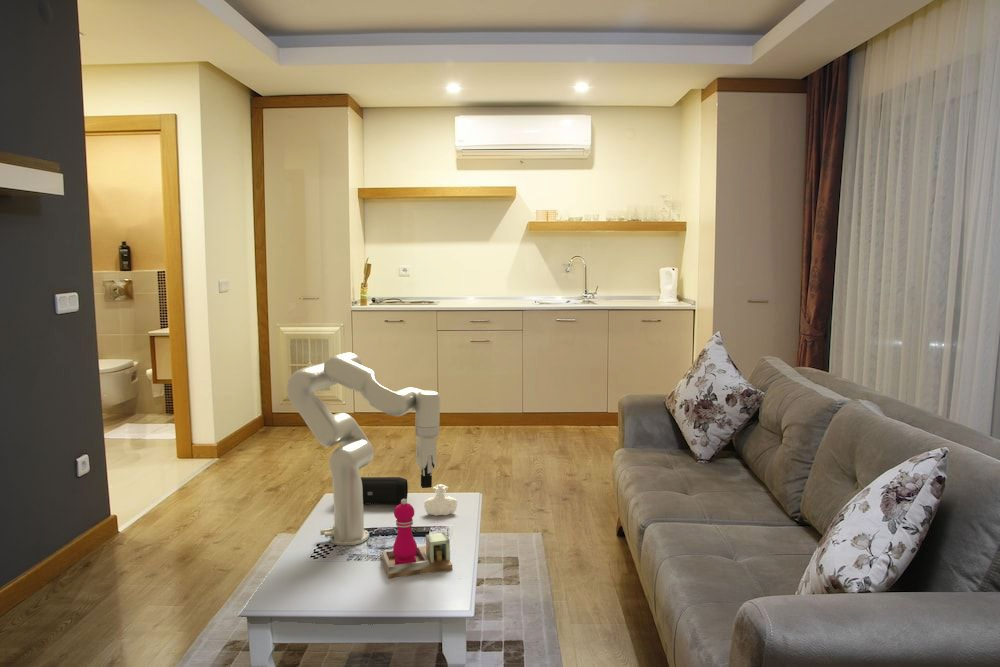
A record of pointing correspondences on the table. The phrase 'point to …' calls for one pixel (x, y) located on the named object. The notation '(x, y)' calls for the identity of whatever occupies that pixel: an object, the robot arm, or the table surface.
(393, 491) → the portable speaker
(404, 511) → the pepper mill
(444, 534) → the block
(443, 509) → the bust
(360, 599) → the table surface
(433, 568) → the stand
